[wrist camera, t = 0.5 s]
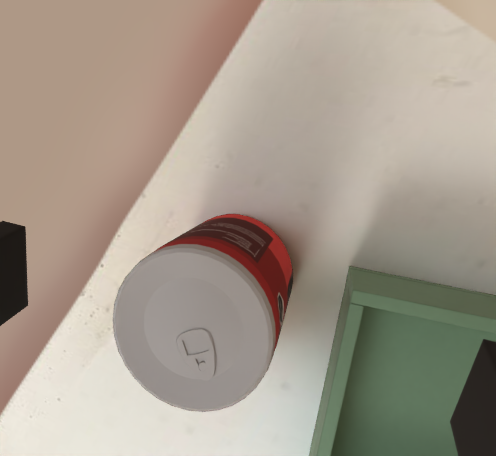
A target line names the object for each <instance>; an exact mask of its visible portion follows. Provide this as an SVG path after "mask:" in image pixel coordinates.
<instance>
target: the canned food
mask: <svg viewBox="0 0 496 456" xmlns="http://www.w3.org/2000/svg"><path fill="white" fill-rule="evenodd" d="M292 283H293V269H292V265H291V260H290V257H289V254H288V252H287V250H286V247H285V246H284V244H283V243H282V241H281V240H280V238H279V237H278V236H277V235H276V234H275V233H274V232H273V231H272V230H271V229H270V228H269V227H268V226H266V225H265V224H263V223H262V222H260V221H258V220H256V219H253V218H251V217H248V216H244V215H239V214H226V215H221V216H216V217H214V218H211V219H209V220H207V221H205V222H203V223H201V224H200V225H198V226H196V227H194V228H193V229H191V230H189V231H187V232H186V233H184V234H182V235H181V236H179V237H177V238H175V239H174V240H172V241H170V242H168V243H167V244H165V245H163V246H162V247H160V248H158V249H157V250H156V251H154V252H152V253H151V254H149V255H148V256H147V257H145V258H144V259H143V260H141V261H140V262H139V263H138V264H137V265H136V266H135V267H134V268H133V269H132V270H131V272H130V273H129V274H128V275H127V276H126V277H125V279H124V281H123V283H122V285H121V287H120V288H119V290H118V294H117V297H116V300H115V304H114V312H113V328H114V337H115V340H116V344H117V347H118V351H119V353H120V355H121V357H122V359H123V361H124V363H125V365H126V367H127V368H128V370H129V371H130V373H131V374H132V375H133V377H134V378H135V379H136V380H137V381H138V382H139V383H140V384H141V385H142V386H143V387H144V388H145V389H146V390H147V391H148V392H150V393H151V394H152V395H154V396H155V397H156V398H158V399H159V400H161V401H163V402H166V403H168V404H170V405H172V406H174V407H178V408H181V409H185V410H189V411H200V412H206V411H215V410H220V409H223V408H226V407H229V406H232V405H234V404H236V403H237V402H239V401H241V400H243V399H244V398H246V397H247V396H248V395H249V394H250V393H251V392H252V391H253V390H254V389H255V388H256V387H257V386H258V384H259V383H260V381H261V380H262V378H263V377H264V375H265V373H266V372H267V370H268V367H269V365H270V362H271V360H272V357H273V355H274V351H275V348H276V346H277V342H278V338H279V334H280V331H281V327H282V323H283V320H284V316H285V312H286V309H287V305H288V301H289V297H290V294H291V289H292Z"/></svg>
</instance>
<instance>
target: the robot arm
mask: <svg viewBox="0 0 496 456" xmlns="http://www.w3.org/2000/svg"><path fill="white" fill-rule="evenodd" d="M26 262H27V261H26V232H25V226H21V225H17V224H13V223H9V222H5V221H2V222H0V326H1V325H2V324H4V323H5V322H6V321H8V320H9V319H10V318H12V317H13V316H14V315H16V314H17V313H18V312H20V311H21V310H22V309H24V308H25V307H26V306H28V295H27V293H28V292H27V263H26ZM450 424H451V428H452V432H453V436H454V441H455V445H456V449H457V453H458V456H496V342H494V341H490V340H486V339H483V341H482V343H481V346H480V348H479V351H478V353H477V356H476V358H475V361H474V363H473V365H472V368H471V370H470V373H469V375H468V378H467V380H466V383H465V385H464V388H463V390H462V393H461V395H460V398H459V400H458V403H457V405H456V407H455V410H454V412H453V415H452V417H451V420H450Z"/></svg>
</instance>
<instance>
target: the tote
mask: <svg viewBox="0 0 496 456" xmlns="http://www.w3.org/2000/svg"><path fill="white" fill-rule="evenodd" d="M483 339H486V340H490V341H494V342H496V295H491V294H486V293H481V292H476V291H471V290H466V289H461V288H456V287H451V286H446V285H441V284H436V283H431V282H426V281H421V280H416V279H411V278H406V277H401V276H396V275H391V274H387V273H382V272H377V271H372V270H367V269H362V268H357V267H352V266H350V267H349V271H348V275H347V280H346V285H345V289H344V294H343V299H342V303H341V308H340V313H339V318H338V322H337V327H336V332H335V336H334V341H333V346H332V350H331V355H330V360H329V364H328V369H327V374H326V378H325V383H324V388H323V392H322V397H321V402H320V406H319V411H318V416H317V420H316V425H315V430H314V435H313V439H312V444H311V449H310V453H309V456H458V453H457V449H456V445H455V441H454V436H453V432H452V428H451V424H450V420H451V417H452V415H453V412H454V410H455V407H456V405H457V403H458V400H459V398H460V395H461V393H462V390H463V388H464V385H465V383H466V380H467V378H468V375H469V373H470V370H471V368H472V365H473V363H474V361H475V358H476V356H477V353H478V351H479V348H480V346H481V343H482V341H483Z"/></svg>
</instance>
